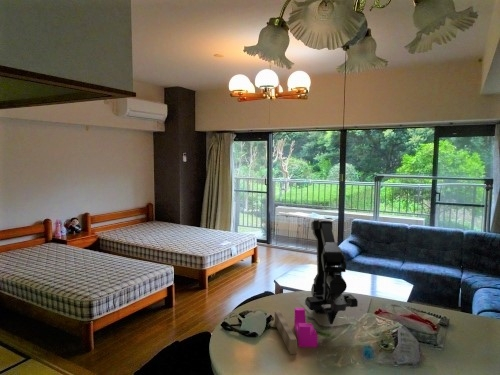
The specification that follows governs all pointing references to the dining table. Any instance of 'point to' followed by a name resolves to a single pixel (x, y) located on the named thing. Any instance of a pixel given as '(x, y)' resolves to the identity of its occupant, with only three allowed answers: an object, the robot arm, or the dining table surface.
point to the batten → (286, 333)
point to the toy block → (304, 330)
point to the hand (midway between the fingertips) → (330, 323)
